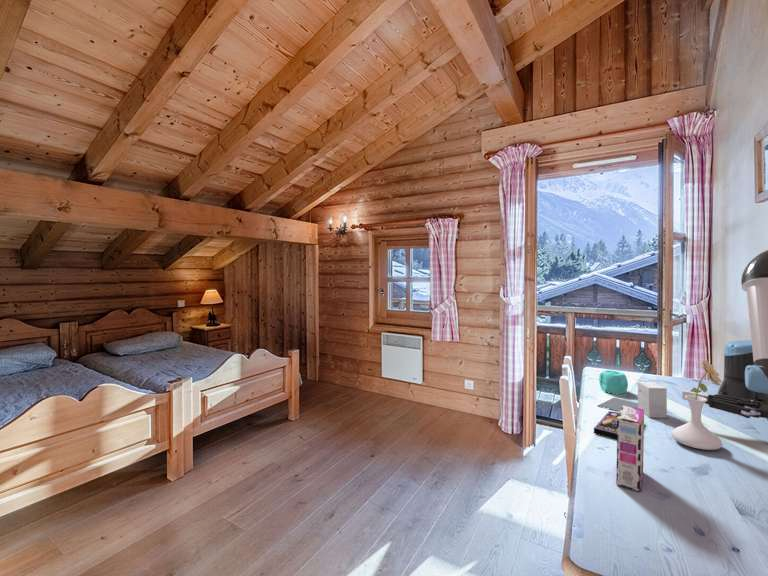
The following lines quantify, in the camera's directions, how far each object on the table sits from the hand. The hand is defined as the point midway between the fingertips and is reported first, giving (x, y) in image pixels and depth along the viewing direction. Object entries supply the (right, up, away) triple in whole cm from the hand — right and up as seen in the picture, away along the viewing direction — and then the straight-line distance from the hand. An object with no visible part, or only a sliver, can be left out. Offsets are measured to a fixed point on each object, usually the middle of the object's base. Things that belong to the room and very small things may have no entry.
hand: (683, 394), depth 119 cm
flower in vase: (-8, -10, -15) cm, 20 cm away
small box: (-5, -9, +8) cm, 13 cm away
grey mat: (-10, -9, +16) cm, 21 cm away
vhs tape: (-24, -11, -3) cm, 26 cm away
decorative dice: (-2, -9, +33) cm, 34 cm away
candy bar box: (-39, -12, -31) cm, 52 cm away
